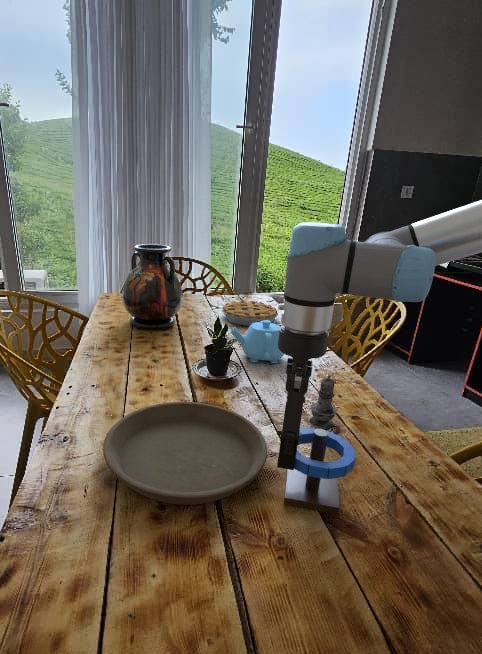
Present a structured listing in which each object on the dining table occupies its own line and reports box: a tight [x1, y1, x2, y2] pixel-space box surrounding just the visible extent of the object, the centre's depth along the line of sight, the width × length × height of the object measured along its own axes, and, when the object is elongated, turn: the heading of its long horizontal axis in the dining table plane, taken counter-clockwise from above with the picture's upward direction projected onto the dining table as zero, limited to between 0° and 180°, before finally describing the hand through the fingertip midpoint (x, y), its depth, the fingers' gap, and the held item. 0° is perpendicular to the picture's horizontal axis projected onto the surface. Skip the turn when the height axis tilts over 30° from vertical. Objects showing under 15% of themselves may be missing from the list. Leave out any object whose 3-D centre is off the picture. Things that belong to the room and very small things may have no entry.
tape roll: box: [294, 427, 357, 479], centre depth 75 cm, size 12×12×2 cm
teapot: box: [229, 320, 285, 364], centre depth 135 cm, size 20×17×12 cm
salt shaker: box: [309, 374, 338, 430], centre depth 99 cm, size 6×6×12 cm
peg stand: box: [283, 428, 341, 516], centre depth 76 cm, size 9×9×12 cm
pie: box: [221, 300, 279, 327], centre depth 173 cm, size 22×22×5 cm
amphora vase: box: [121, 243, 183, 331], centre depth 157 cm, size 22×22×28 cm
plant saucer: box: [102, 401, 268, 506], centre depth 85 cm, size 31×31×5 cm
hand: (287, 450), depth 77 cm, fingers closed on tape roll, 9 cm apart
